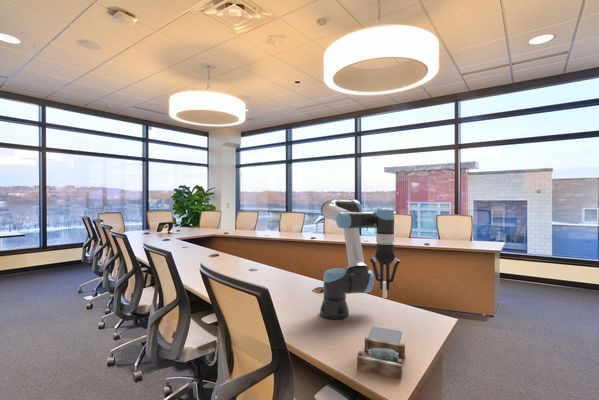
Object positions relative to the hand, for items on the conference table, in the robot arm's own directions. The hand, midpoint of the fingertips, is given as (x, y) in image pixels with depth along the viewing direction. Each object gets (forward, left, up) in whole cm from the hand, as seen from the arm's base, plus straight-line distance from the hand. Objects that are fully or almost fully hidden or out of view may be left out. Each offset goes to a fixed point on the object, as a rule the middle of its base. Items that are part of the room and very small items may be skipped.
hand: (384, 297), depth 137 cm
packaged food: (+5, -20, -19) cm, 28 cm away
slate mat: (0, 0, -18) cm, 18 cm away
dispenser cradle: (+2, -22, -18) cm, 28 cm away
